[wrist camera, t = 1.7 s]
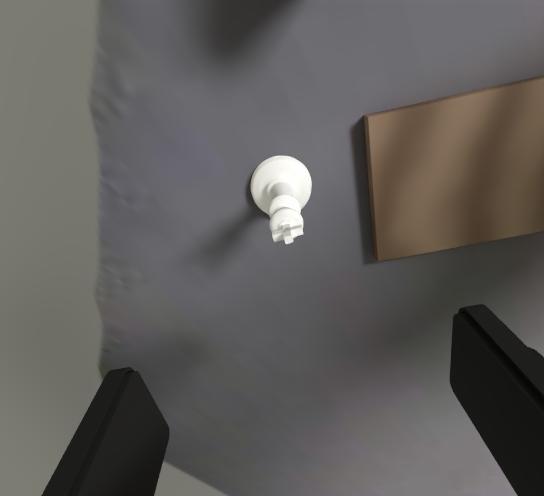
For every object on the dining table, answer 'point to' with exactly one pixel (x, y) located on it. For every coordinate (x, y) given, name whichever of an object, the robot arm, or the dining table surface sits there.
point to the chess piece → (282, 194)
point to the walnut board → (457, 170)
